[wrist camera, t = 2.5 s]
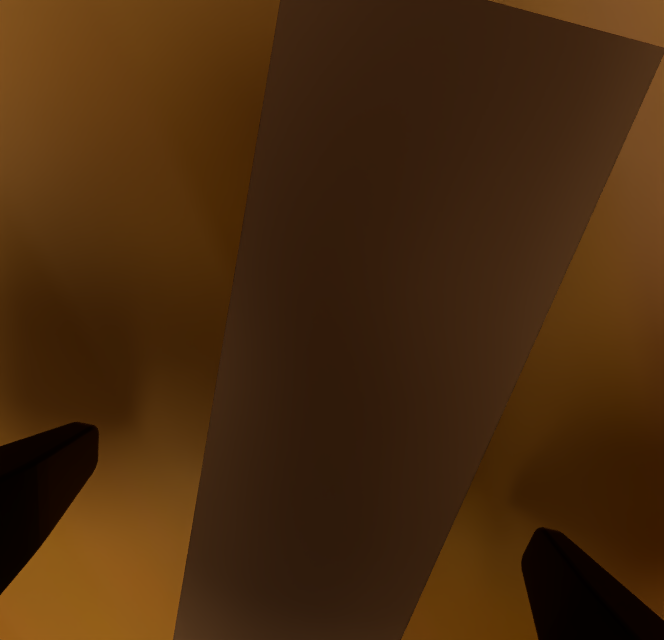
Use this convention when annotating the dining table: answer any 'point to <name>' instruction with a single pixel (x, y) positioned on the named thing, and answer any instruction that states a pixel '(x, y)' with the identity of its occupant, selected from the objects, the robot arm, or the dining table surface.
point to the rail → (389, 296)
